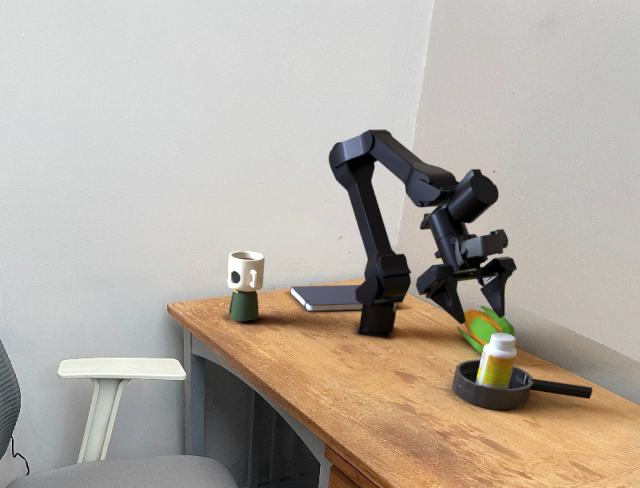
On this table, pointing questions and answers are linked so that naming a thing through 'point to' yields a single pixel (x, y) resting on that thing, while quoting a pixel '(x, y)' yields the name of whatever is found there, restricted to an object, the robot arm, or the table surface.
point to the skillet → (491, 388)
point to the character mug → (245, 284)
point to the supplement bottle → (497, 361)
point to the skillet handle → (562, 388)
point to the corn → (484, 327)
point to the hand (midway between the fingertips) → (483, 320)
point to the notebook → (327, 297)
